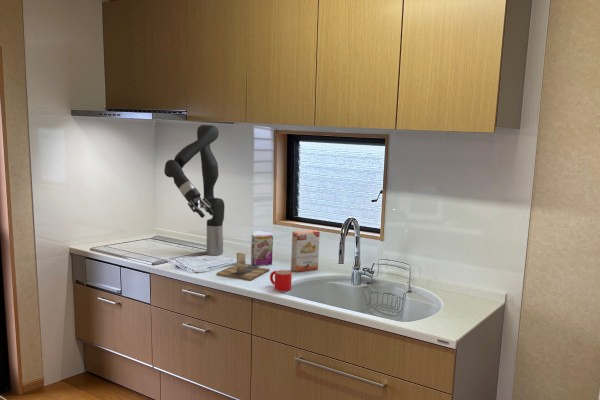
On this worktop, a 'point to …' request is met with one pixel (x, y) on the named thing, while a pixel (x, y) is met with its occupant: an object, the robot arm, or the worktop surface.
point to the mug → (281, 280)
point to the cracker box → (305, 250)
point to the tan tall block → (241, 263)
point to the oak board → (249, 274)
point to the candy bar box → (261, 249)
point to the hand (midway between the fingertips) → (208, 215)
